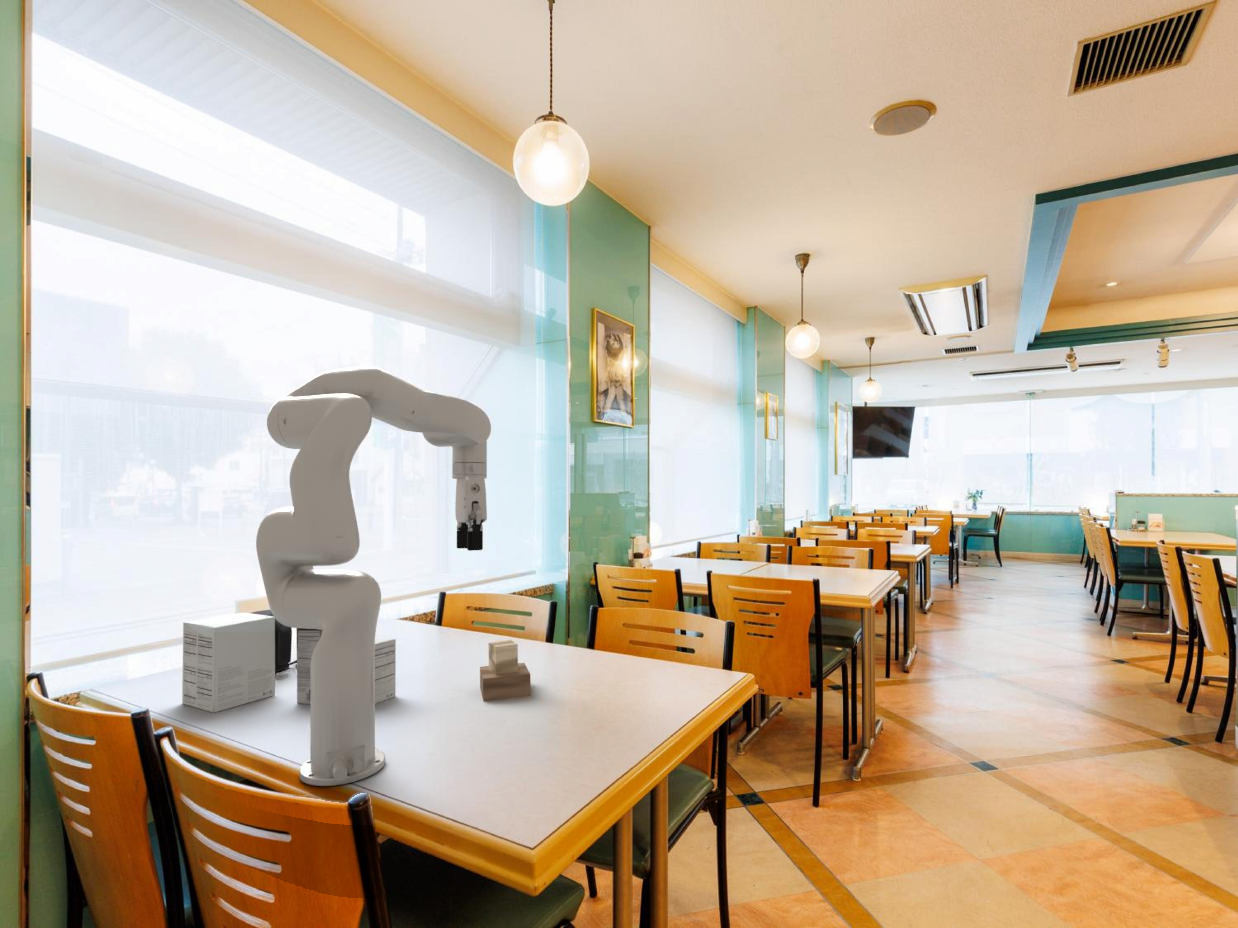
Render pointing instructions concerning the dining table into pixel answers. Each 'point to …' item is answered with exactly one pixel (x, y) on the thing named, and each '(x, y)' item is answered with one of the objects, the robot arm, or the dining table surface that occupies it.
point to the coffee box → (305, 661)
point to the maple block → (503, 657)
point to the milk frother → (280, 643)
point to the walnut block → (505, 684)
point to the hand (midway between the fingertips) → (469, 549)
